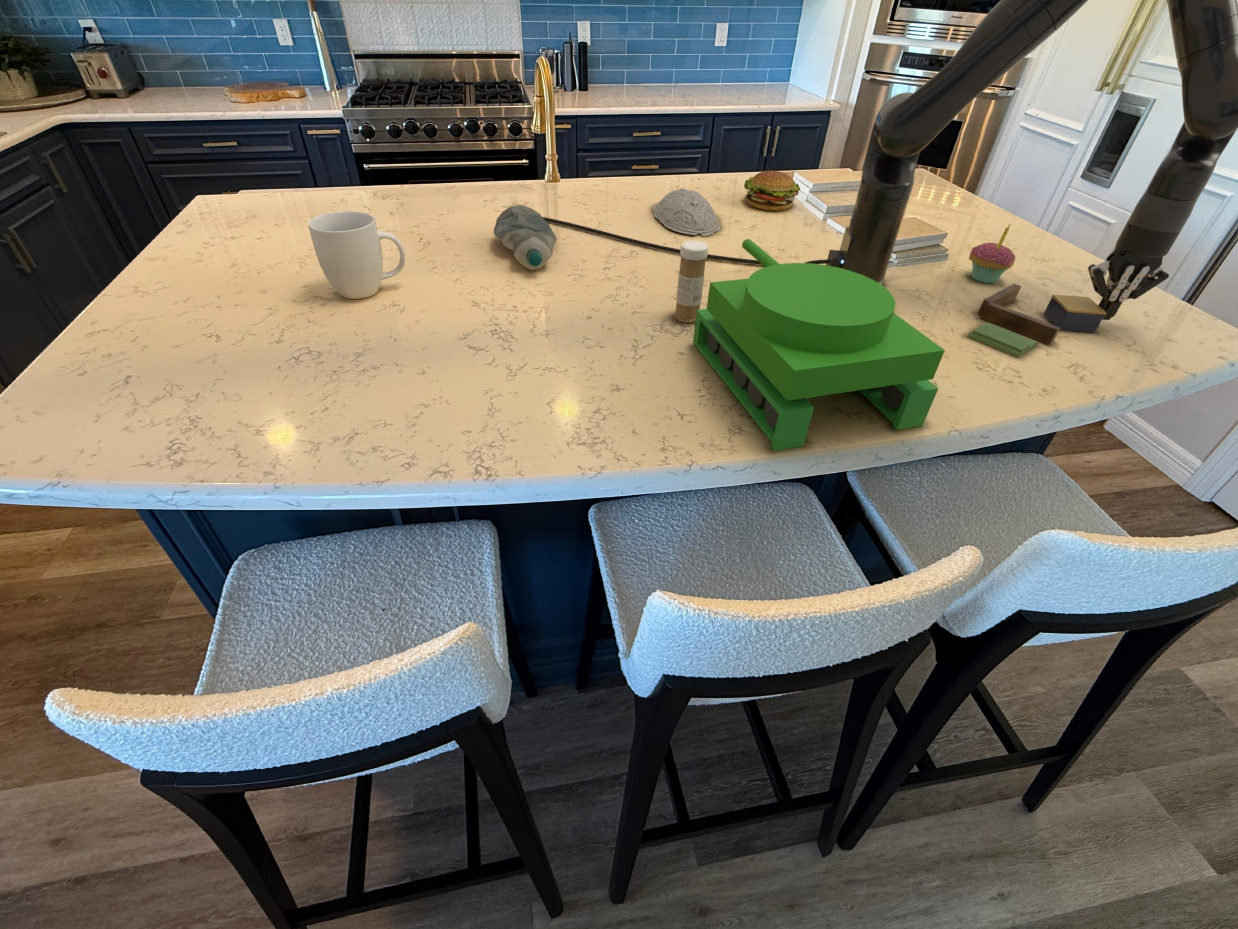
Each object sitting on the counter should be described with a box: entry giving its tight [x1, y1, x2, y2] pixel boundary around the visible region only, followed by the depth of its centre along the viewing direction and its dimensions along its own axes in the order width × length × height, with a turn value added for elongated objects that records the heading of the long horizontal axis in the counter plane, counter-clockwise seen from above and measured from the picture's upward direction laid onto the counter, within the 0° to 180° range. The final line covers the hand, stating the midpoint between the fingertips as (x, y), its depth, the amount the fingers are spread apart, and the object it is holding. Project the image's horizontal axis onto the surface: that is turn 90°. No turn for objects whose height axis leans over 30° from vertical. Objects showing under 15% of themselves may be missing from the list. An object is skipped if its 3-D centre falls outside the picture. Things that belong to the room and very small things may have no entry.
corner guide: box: [977, 283, 1061, 346], centre depth 117 cm, size 10×19×3 cm, turn 174°
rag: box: [967, 321, 1039, 358], centre depth 110 cm, size 9×7×1 cm
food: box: [743, 170, 801, 212], centre depth 163 cm, size 14×14×8 cm
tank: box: [692, 238, 946, 452], centre depth 94 cm, size 24×35×16 cm
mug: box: [307, 210, 406, 300], centre depth 113 cm, size 15×11×13 cm
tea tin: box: [1043, 294, 1106, 334], centre depth 116 cm, size 7×7×4 cm
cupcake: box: [968, 223, 1016, 284], centre depth 128 cm, size 9×8×12 cm
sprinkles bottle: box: [674, 240, 709, 324], centre depth 109 cm, size 5×5×13 cm
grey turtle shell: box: [653, 187, 721, 237], centre depth 153 cm, size 16×25×7 cm, turn 8°
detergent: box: [493, 204, 558, 271], centre depth 131 cm, size 13×7×25 cm
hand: (1102, 317), depth 116 cm, fingers closed
